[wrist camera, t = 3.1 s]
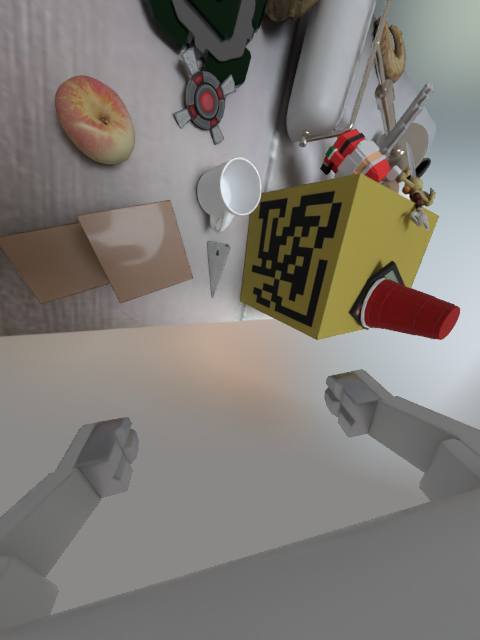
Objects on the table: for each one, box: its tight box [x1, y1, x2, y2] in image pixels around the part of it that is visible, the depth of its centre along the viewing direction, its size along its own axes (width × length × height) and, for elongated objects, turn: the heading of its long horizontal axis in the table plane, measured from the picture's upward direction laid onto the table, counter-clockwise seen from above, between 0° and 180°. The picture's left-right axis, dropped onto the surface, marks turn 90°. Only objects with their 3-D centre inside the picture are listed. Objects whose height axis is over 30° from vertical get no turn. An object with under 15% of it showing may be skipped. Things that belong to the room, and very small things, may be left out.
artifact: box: [375, 17, 406, 83], centre depth 55 cm, size 12×3×15 cm
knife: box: [379, 83, 434, 159], centre depth 50 cm, size 5×1×30 cm
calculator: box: [349, 261, 405, 330], centre depth 42 cm, size 9×12×3 cm
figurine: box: [320, 129, 402, 183], centre depth 41 cm, size 8×7×12 cm
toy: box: [174, 48, 236, 145], centre depth 36 cm, size 12×12×1 cm
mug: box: [197, 157, 262, 233], centre depth 41 cm, size 9×12×11 cm
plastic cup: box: [361, 278, 460, 340], centre depth 38 cm, size 11×11×12 cm
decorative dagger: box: [395, 141, 435, 232], centre depth 44 cm, size 10×3×30 cm
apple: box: [55, 76, 135, 164], centre depth 29 cm, size 9×9×8 cm
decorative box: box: [240, 173, 439, 340], centre depth 53 cm, size 26×37×30 cm
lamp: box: [287, 0, 428, 184], centre depth 49 cm, size 27×23×40 cm
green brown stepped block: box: [0, 200, 193, 304], centre depth 32 cm, size 11×21×15 cm, turn 101°
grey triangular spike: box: [207, 241, 230, 298], centre depth 51 cm, size 6×5×13 cm
